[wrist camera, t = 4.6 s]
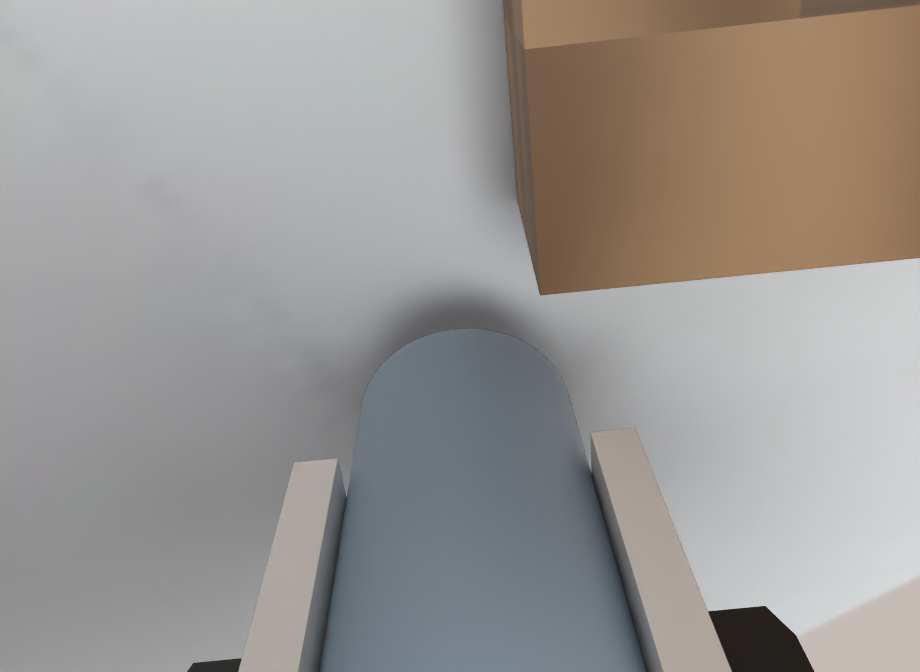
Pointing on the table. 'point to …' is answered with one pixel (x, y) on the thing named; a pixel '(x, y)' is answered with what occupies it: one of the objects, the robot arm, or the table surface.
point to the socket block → (713, 136)
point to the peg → (474, 522)
